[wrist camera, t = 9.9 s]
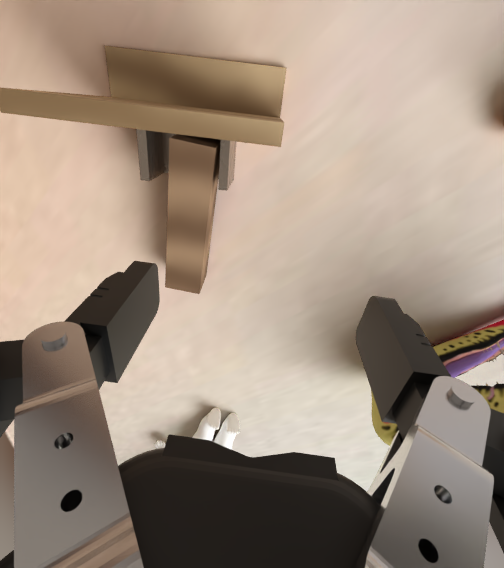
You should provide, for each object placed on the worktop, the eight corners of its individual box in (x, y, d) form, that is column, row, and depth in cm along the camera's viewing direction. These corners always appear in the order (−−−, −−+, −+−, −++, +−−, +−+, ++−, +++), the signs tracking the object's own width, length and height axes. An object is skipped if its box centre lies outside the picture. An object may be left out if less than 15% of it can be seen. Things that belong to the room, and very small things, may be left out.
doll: (278, 455, 47) (218, 548, 59) (275, 410, 55) (223, 499, 67) (162, 422, 45) (124, 526, 56) (177, 380, 53) (141, 478, 64)
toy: (567, 313, 37) (823, 489, 20) (370, 393, 47) (427, 557, 29) (553, 272, 34) (834, 435, 17) (347, 366, 44) (394, 529, 27)
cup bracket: (233, 179, 31) (224, 195, 25) (159, 170, 31) (131, 184, 25) (237, 126, 29) (227, 130, 23) (156, 116, 29) (124, 118, 23)
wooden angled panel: (108, 46, 26) (-35, -8, 14) (286, 68, 26) (296, 32, 14) (115, 111, 29) (1, 112, 17) (277, 131, 29) (280, 146, 17)
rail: (181, 131, 28) (169, 137, 25) (222, 140, 28) (215, 148, 25) (175, 269, 37) (165, 287, 34) (206, 275, 37) (199, 293, 34)
